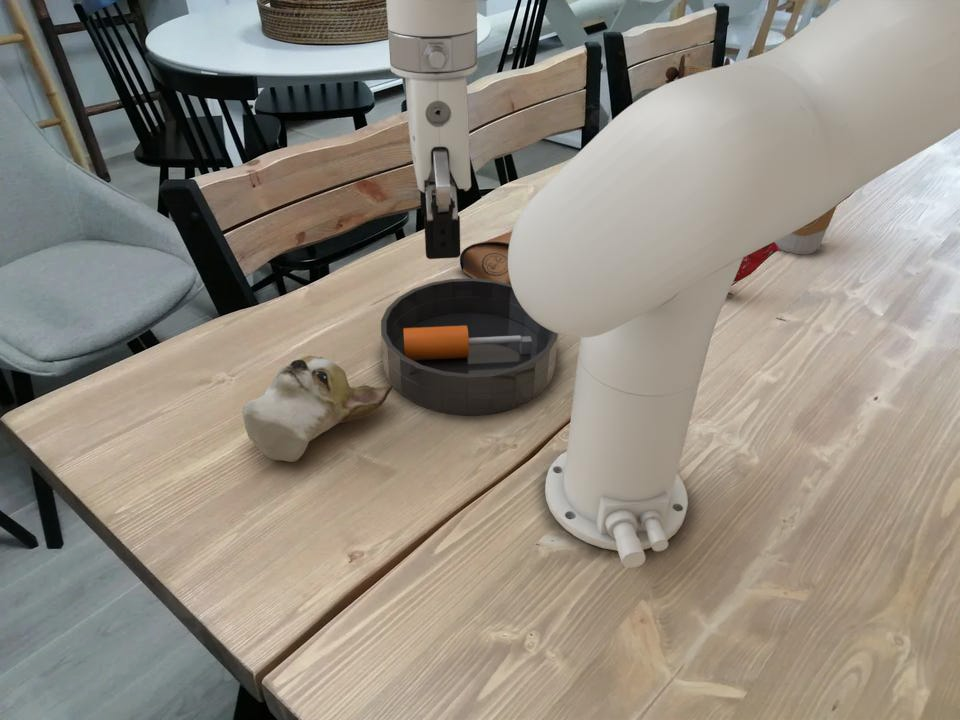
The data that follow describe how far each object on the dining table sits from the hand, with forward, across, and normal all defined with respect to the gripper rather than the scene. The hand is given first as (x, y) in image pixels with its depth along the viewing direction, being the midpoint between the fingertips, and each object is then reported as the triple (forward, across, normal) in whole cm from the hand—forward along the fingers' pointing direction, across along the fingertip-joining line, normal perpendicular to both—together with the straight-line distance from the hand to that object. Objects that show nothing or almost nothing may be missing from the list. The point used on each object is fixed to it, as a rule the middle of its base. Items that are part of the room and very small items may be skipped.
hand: (439, 234), depth 73 cm
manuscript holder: (+15, +49, -44) cm, 68 cm away
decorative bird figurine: (+16, +14, -34) cm, 40 cm away
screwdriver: (+15, +1, -3) cm, 16 cm away
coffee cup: (+16, +25, -53) cm, 61 cm away
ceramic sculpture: (+16, -9, +14) cm, 23 cm away
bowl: (+16, +1, -3) cm, 16 cm away
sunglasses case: (+16, +23, -13) cm, 31 cm away
